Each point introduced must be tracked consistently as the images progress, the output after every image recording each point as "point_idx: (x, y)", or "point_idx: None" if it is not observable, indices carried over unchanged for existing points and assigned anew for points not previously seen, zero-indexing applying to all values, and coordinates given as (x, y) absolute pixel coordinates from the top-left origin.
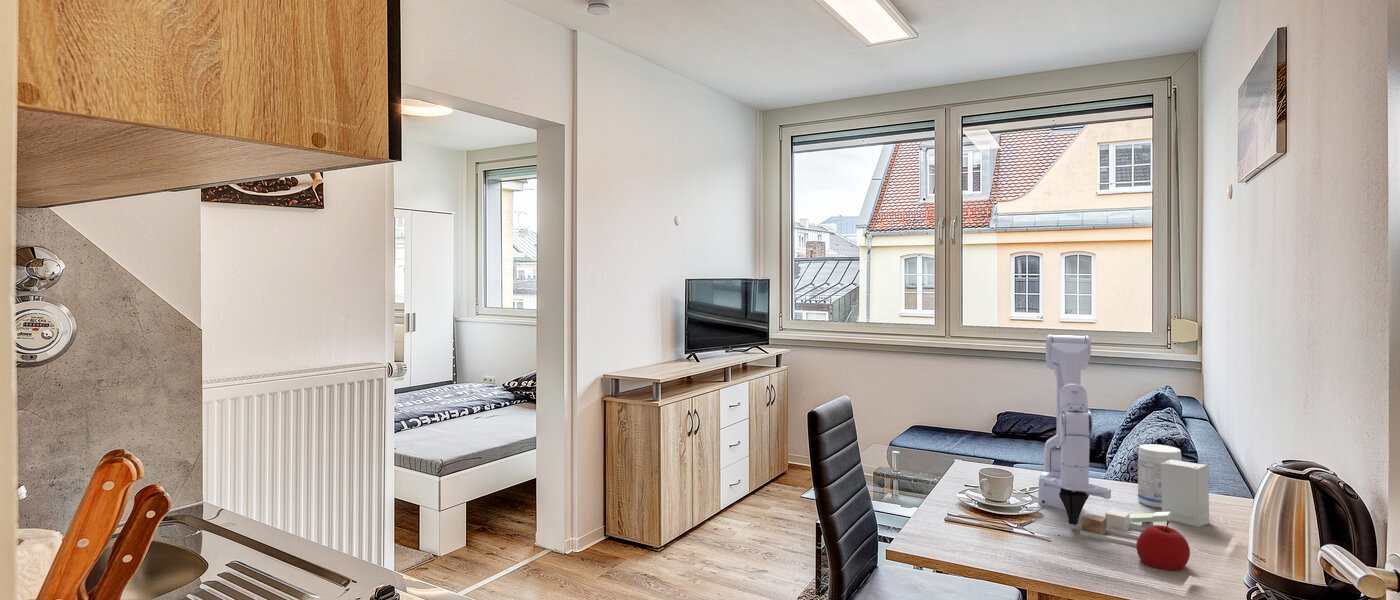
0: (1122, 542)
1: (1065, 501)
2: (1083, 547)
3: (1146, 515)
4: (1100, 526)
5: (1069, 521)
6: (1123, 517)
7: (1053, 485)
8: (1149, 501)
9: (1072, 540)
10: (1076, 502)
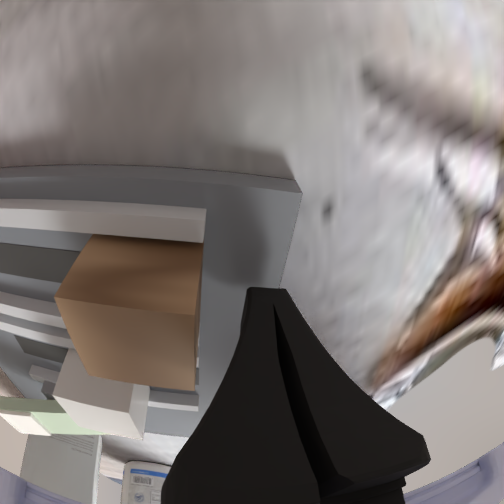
0: (1, 203)
1: (358, 415)
2: (165, 69)
3: (61, 424)
4: (74, 270)
5: (287, 297)
6: (58, 394)
7: (442, 496)
8: (158, 471)
9: (246, 160)
10: (247, 435)
